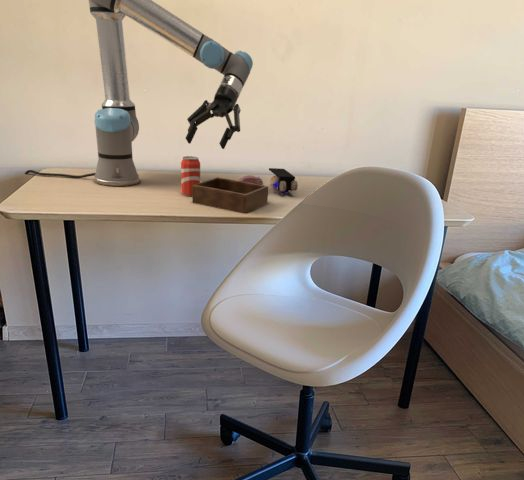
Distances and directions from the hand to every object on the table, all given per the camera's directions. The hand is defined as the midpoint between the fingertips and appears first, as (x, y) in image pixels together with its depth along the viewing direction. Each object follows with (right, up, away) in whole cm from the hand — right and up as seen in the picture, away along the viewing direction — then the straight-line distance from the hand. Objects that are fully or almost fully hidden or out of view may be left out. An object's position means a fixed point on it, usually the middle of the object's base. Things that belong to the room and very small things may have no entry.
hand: (204, 143), depth 173 cm
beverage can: (-5, -17, +1) cm, 18 cm away
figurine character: (+27, -13, +12) cm, 32 cm away
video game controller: (+15, -13, +10) cm, 22 cm away
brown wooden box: (+9, -22, -5) cm, 24 cm away
